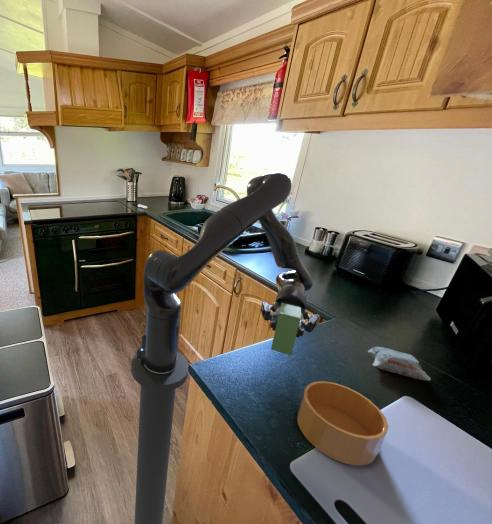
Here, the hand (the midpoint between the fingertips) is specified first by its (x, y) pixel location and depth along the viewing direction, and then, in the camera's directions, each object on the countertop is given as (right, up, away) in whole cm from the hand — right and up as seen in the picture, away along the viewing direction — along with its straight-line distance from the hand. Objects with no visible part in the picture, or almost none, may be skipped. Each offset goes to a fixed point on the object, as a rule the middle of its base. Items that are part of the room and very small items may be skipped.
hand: (286, 330), depth 66 cm
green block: (+1, -5, +4) cm, 7 cm away
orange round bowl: (+7, -20, -5) cm, 22 cm away
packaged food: (+37, -15, +14) cm, 42 cm away
